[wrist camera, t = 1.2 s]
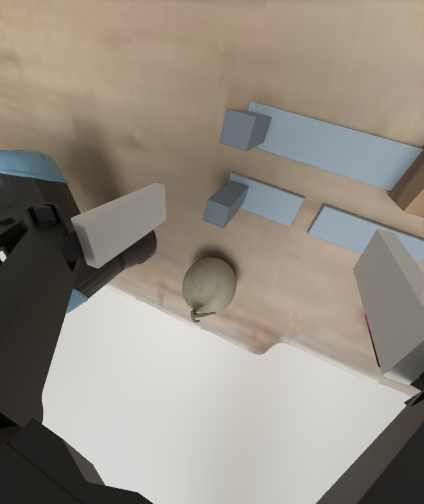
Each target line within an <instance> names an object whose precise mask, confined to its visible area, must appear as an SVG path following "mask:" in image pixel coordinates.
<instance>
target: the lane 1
mask: <svg viewBox="0 0 424 504" xmlns="http://www.w3.org/2000/svg"><path fill="white" fill-rule="evenodd" d="M304 198H305V197H303V196H300V195H297V194H294V193H291V192H289V191H286V190H283V189H280V188H277V187H274V186H272V185H269V184H266V183H263V182H260V181H257V180H254V179H252V178H249V177H246V176H243V175H240V174H237V173H235V172H232V173H231V174H230V178H229V182H228V184H226V185H225V186H224V187H223V188H221V189H220V190H219V191H217V192H216V193H215V194H214V195H212V196H211V197H210V198H208V199H207V204H206V208H205V213H204V218H203V220H204V221H207V222H209V223H212V224H214V225H216V226H219V227H221V228H224V227H225V226H226V224H227V223H228V222H229V221H230V220H231V218H232V217H233V216H234V215H235V213H236V212H237V211H238V210H239V208H241V209H244V210H246V211H249V212H251V213H254V214H257V215H259V216H262V217H264V218H267V219H270V220H272V221H275V222H277V223H280V224H283V225H285V226H288V227H290V225H291V224H292V222H293V220H294V218H295V216H296V214H297V212H298V210H299V208H300V207H301V205H302V203H303V201H304Z"/></svg>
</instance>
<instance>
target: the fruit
mask: <svg viewBox="0 0 424 504" xmlns="http://www.w3.org/2000/svg"><path fill="white" fill-rule="evenodd" d="M235 290H236V278H235V275H234V272H233V270H232V268H231V267H230V266H229V265H228V264H227V263H226V262H224V261H223V260H221V259H218V258H204V259H201V260H199V261H197V262H196V263H194V264H193V265H192V266H191V267H190V268H189V269H188V271H187V273H186V275H185V277H184V281H183V287H182V291H183V296H184V299H185V301H186V303H187V304H188V305H189V306H190V307H191V308H192V309H193V310H192V311H191V318H192V320H193V322H195V323H196V322H199V320H197V321H196V320H195V318H198V317H204V316H208V315H212V314H216V313H219V312H221V311H223V310H224V309H225V308H226V307H227V306H228V305H229V304H230V302H231V301H232V299H233V297H234V294H235ZM196 312H199V313H202V314H197V313H196Z"/></svg>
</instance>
